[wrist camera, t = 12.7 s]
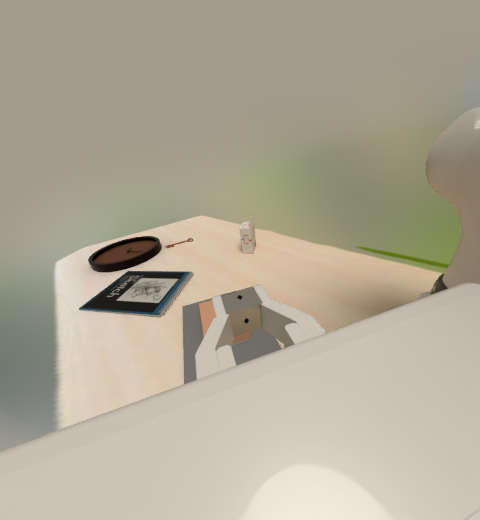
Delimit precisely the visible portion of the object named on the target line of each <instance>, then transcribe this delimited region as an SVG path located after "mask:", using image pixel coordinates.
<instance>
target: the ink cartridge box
mask: <svg viewBox="0 0 480 520" xmlns="http://www.w3.org/2000/svg"><path fill="white" fill-rule="evenodd" d="M251 221H252V222H251ZM240 235H241V243H242V251H243V254H253V252H254V249H255V246H256V241H255V227H254V218H253V216H252V217H251V219H250V221H249V222H243V224H242V226H241V227H240Z"/></svg>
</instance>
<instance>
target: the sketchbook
mask: <svg viewBox="0 0 480 520" xmlns="http://www.w3.org/2000/svg"><path fill="white" fill-rule="evenodd" d="M193 275H194V274H193V273H192V272H161V271H128V272H126V273H125V274H124V275H122V276H121V277H120V278H118V279H117V280H116V281H114V282H113V283H112V284H111V285H109V286H108V287H107V288H105V289H104V290H103V291H101V292H100V293H99V294H97V295H96V296H95V297H93V298H92V299H91V300H90V301H88V302H87V303H86V304H84V305H83V306H82V307H80V308H79V310H83V311H94V312H105V313H116V314H128V315H139V316H150V317H161V315H162V314H164V315H165V310H166V309H167V308H168V306H169V308H170V304H171V302H172V304H173V300H174V298H175V297H176V298H177V294H178V293H179V294H180V293H181V291H182V290H183V289H182V288H183V286H184V285H185V286H186V285H187V283H188V282H189V280H190V279H191V278H192V276H193ZM186 282H187V283H186ZM185 283H186V284H185ZM185 286H184V287H185ZM179 291H180V292H179ZM178 296H179V295H178ZM176 298H175V300H176ZM172 304H171V305H172ZM166 312H167V310H166ZM164 315H163V316H164Z"/></svg>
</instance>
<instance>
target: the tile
mask: <svg viewBox="0 0 480 520" xmlns="http://www.w3.org/2000/svg"><path fill="white" fill-rule="evenodd" d="M199 307H200V314H201V322H202V329H203V336H205V334H206V332H207V330H208V328H209V327H210V325H211V323H212V321H213V319H214V318H216V314H215V310H214V306H213V301H212V300H210V301H207V302H203V303H199ZM249 339H251V331H250V332H247V333H244V334H241V335H239V336H236V337H234V340H233V344H232V345H234V344H237V343H240V342H243V341H246V340H249Z"/></svg>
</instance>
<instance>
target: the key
mask: <svg viewBox="0 0 480 520" xmlns="http://www.w3.org/2000/svg"><path fill="white" fill-rule="evenodd" d="M190 239H191V238H190ZM190 239H188V240H187V241H188V242H191V241H190ZM187 241H183V242H179V243H175V244H172V245H168V246H165V247H167V248H171V247H172V246H173V245H176V244H180V243H184V242H187ZM192 241H193V239H192ZM170 246H171V247H170ZM173 247H174V246H173Z"/></svg>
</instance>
